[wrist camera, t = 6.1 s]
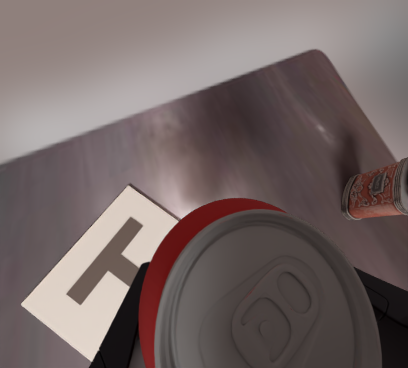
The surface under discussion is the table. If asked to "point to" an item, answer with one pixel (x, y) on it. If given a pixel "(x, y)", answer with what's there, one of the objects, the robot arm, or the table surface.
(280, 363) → the beverage can
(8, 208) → the table surface
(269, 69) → the table surface
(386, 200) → the lighter
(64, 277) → the letter mat
